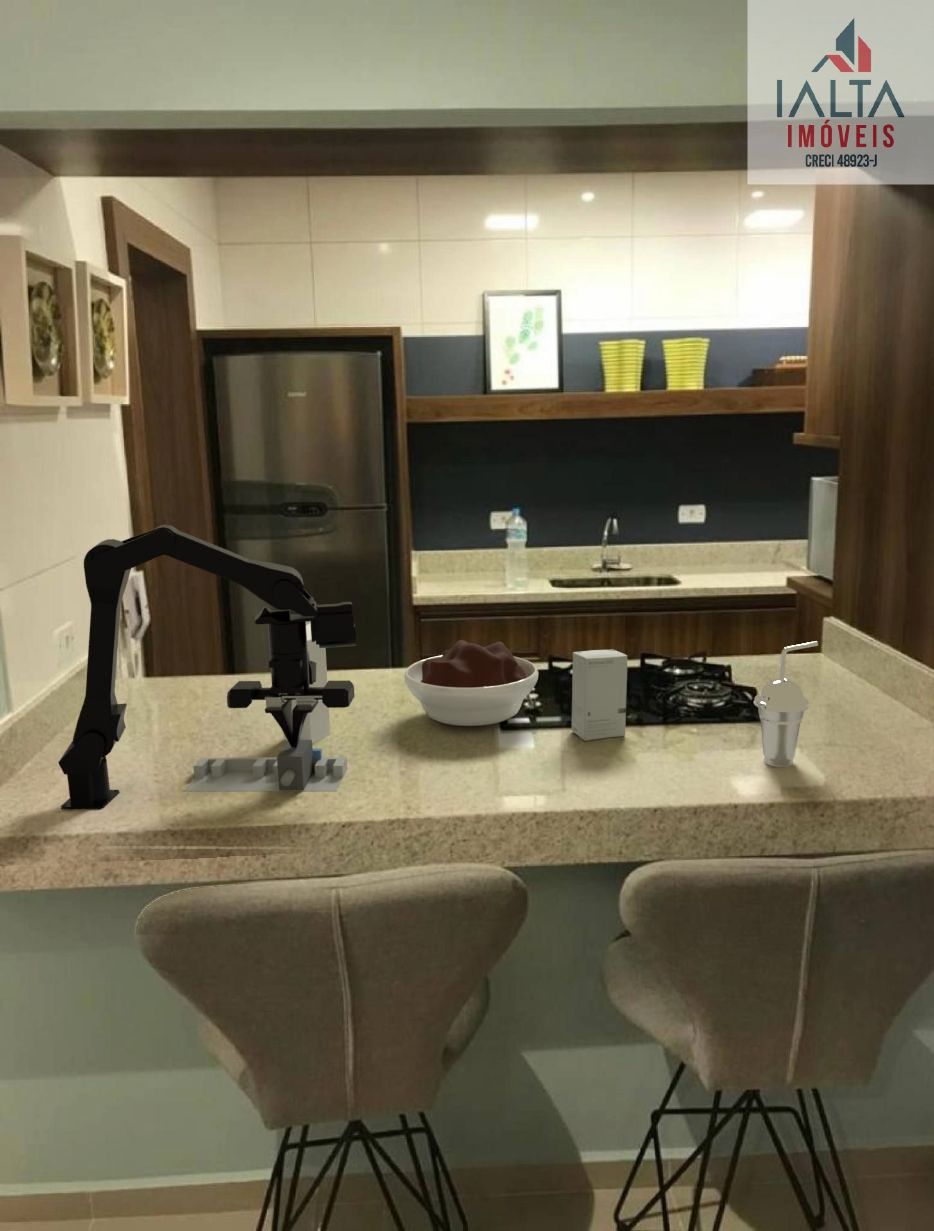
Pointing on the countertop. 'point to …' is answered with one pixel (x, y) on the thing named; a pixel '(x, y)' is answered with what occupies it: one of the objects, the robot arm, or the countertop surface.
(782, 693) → the cup with straw
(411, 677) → the white bowl
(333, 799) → the countertop surface
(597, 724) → the skincare box
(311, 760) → the dark grey knobbed block
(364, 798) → the countertop surface
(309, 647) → the milk
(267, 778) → the grey toothed rack
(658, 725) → the countertop surface
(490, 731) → the countertop surface
